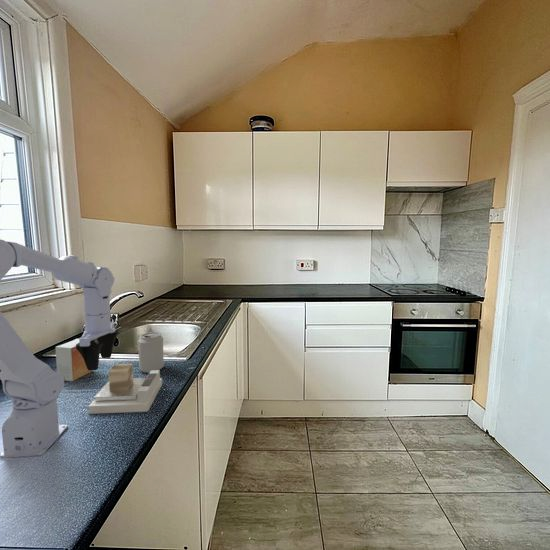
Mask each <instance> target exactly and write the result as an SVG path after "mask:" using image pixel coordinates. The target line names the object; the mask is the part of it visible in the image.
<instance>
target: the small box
mask: <svg viewBox="0 0 550 550" xmlns="http://www.w3.org/2000/svg"><path fill="white" fill-rule="evenodd" d="M79 339H80V338H75V339H73V340H71V341H68V342H65V343H63V344H59V345H57V346H55V363H56V372H59V373H61V374H62V375H63V377H64V382H65V381H67V382H74V381H76V380H79V378H82V377H83V376H85V375H87V374H90V373H92V372H94V370H88V369H87V367H86V364H85V361H84V359H83V357H82V355H81V354H80V352H79V351H78V350H77V349H76V344H78V343H79Z"/></svg>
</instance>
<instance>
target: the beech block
mask: <svg viewBox="0 0 550 550" xmlns="http://www.w3.org/2000/svg"><path fill="white" fill-rule="evenodd" d="M133 368H134V364H133V363H115V364H114V365H113V366H112V367H111V368H110V370H108V381H109V388H110V391H128V390H129V388H130V387H131V385H132V384H133V378H134V369H133Z"/></svg>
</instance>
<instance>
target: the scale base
mask: <svg viewBox="0 0 550 550" xmlns="http://www.w3.org/2000/svg"><path fill="white" fill-rule="evenodd" d="M160 372H161V370H151V371H150V373H147V374H148V375H147V376H146V377H145V378H146V379H145V380H144V382H143V383H142V385H141V386H140V388H139V389H138V391H137V395H138V397H137V398H136V399H133V400H105V401H94V400H92V402H91V403H90V404H89V405H88V414H89V415H90V414H92V415H93V414H94V415H95V414H115V413H117V414H118V413H138V412H139V413H143V412H144V413H145V412H146V413H147V412H149V410H150V408H151V406H152V404H153V403H154V401H155V399H156V397H157V395H158V393H159V391H160V389H161V387H162V385H163V378H162V377H161V373H160Z"/></svg>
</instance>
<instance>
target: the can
mask: <svg viewBox="0 0 550 550" xmlns="http://www.w3.org/2000/svg"><path fill="white" fill-rule="evenodd" d="M139 337H140V338H139V339H138V341H137V342H138V369H139V370H140V371H141V372H142V373H143V374H149V373H150V371H151V370H160V369H161V370H162V368H164V365H165V363H164V361H165V360H164V338H163V336H162V334H161V332H158V331H150V332H149V331H148V332H145V333H142V334H141V335H140V336H139ZM161 370H160V371H161Z"/></svg>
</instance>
